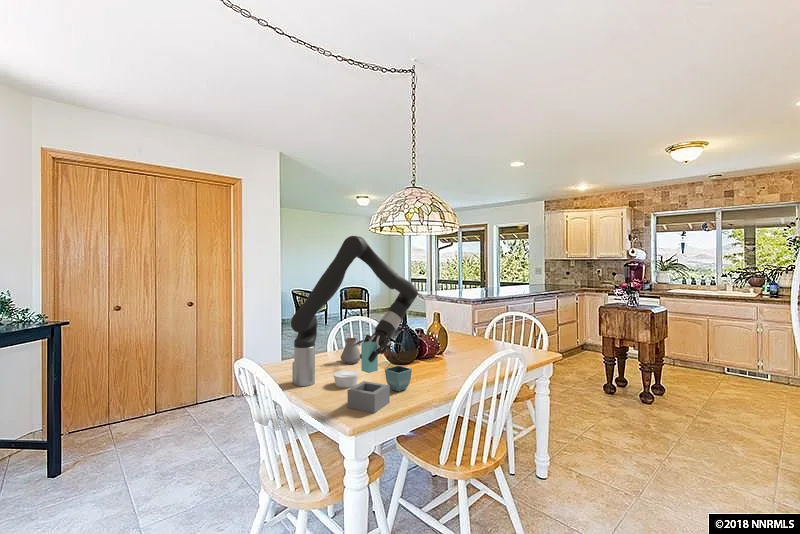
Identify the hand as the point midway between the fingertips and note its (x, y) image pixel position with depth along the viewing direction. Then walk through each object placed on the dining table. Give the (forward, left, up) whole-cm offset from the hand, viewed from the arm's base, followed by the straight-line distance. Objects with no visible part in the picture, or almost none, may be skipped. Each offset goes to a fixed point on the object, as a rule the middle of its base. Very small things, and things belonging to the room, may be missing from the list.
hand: (365, 359), depth 152 cm
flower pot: (+3, +23, -18) cm, 30 cm away
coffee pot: (-36, +49, -18) cm, 64 cm away
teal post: (+1, +2, -5) cm, 5 cm away
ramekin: (-21, +18, -19) cm, 34 cm away
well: (+1, +1, -18) cm, 18 cm away
